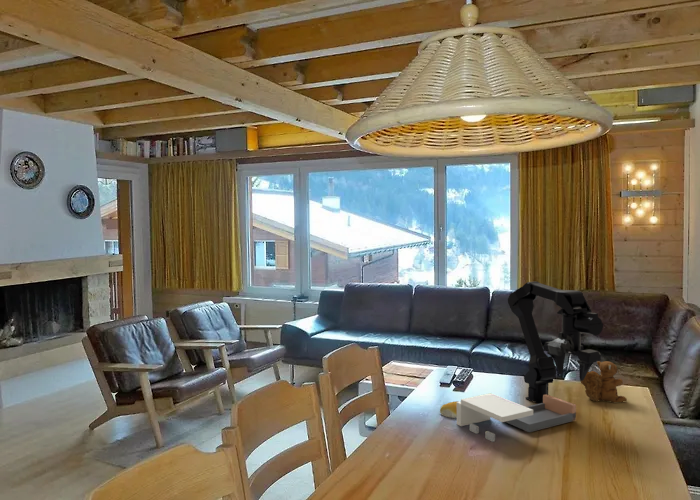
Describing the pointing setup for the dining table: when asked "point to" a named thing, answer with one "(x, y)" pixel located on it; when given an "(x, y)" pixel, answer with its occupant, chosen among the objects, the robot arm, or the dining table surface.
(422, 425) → the dining table surface
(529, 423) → the tray
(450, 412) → the bread roll
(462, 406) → the overhang shelf
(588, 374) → the stuffed squirrel
